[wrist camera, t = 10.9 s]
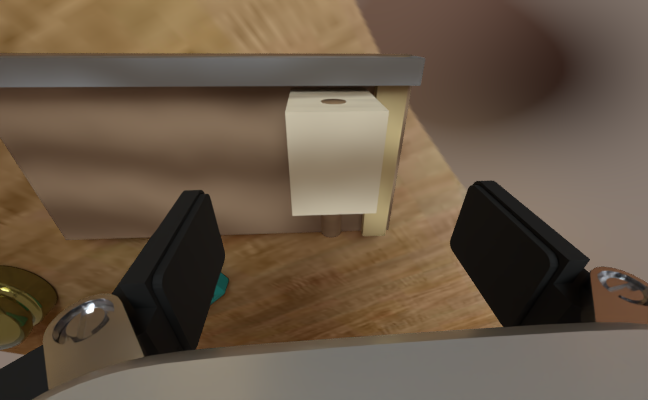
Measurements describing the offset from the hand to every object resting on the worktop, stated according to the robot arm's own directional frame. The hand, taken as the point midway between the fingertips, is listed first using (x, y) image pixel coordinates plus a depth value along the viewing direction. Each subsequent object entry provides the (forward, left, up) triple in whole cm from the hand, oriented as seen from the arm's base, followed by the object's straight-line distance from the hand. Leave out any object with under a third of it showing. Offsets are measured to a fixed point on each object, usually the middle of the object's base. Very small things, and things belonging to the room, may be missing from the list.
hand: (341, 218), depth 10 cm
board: (+2, -8, -13) cm, 16 cm away
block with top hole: (+2, 0, -11) cm, 11 cm away
